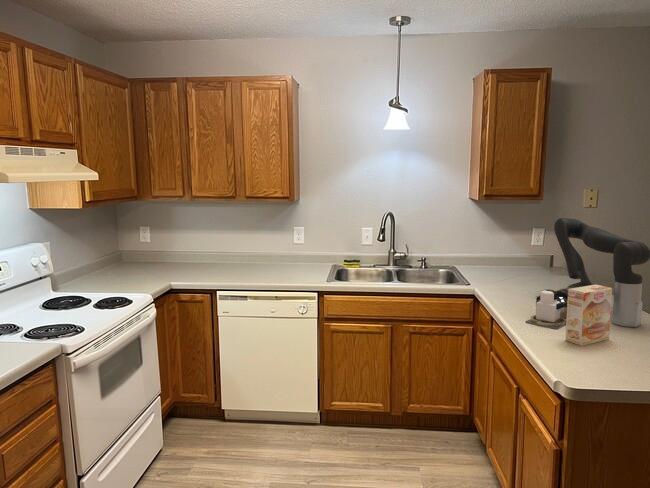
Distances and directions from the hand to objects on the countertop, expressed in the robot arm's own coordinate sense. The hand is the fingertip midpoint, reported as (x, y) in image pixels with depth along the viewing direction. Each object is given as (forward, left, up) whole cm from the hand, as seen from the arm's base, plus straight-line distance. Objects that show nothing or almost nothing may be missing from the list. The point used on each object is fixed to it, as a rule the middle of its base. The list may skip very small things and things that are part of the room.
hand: (547, 305), depth 191 cm
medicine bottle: (0, -1, -6) cm, 6 cm away
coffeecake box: (-19, +9, -8) cm, 23 cm away
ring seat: (0, -1, -8) cm, 8 cm away
